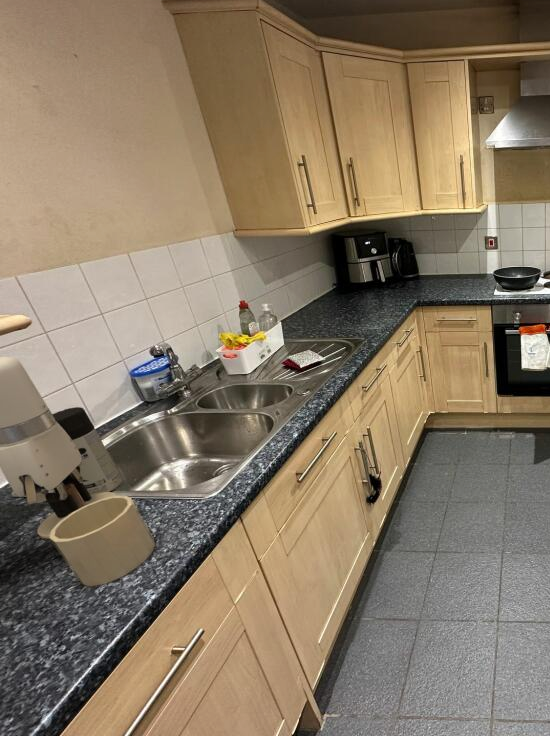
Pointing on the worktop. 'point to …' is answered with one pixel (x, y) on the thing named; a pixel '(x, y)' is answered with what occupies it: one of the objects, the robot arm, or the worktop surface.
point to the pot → (103, 540)
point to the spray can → (89, 451)
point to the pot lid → (53, 520)
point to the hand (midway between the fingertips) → (75, 507)
